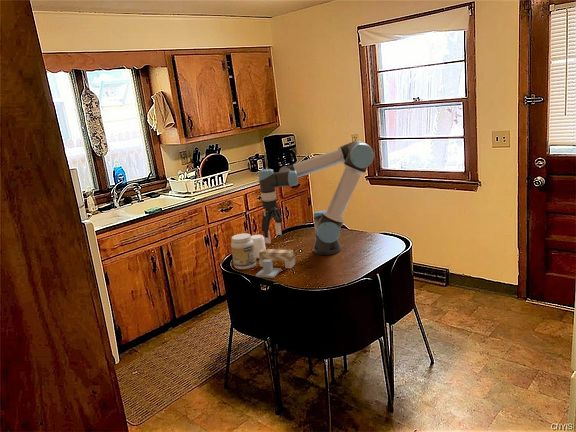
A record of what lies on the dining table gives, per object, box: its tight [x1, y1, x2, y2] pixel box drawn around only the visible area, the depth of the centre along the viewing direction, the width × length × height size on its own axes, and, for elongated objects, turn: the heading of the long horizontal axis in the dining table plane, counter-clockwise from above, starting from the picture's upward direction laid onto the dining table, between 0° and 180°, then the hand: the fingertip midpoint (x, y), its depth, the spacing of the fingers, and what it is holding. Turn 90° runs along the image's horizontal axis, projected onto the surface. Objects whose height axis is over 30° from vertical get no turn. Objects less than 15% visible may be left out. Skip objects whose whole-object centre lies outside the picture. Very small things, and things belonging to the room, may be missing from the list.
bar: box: [259, 248, 295, 262], centre depth 246 cm, size 18×4×4 cm, turn 66°
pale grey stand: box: [255, 259, 282, 279], centre depth 237 cm, size 10×10×7 cm
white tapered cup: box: [251, 234, 267, 259], centre depth 262 cm, size 8×8×12 cm
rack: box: [258, 256, 296, 269], centre depth 247 cm, size 18×6×4 cm, turn 66°
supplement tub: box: [230, 233, 257, 270], centre depth 250 cm, size 12×12×17 cm
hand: (273, 238), depth 244 cm, fingers open, 13 cm apart
